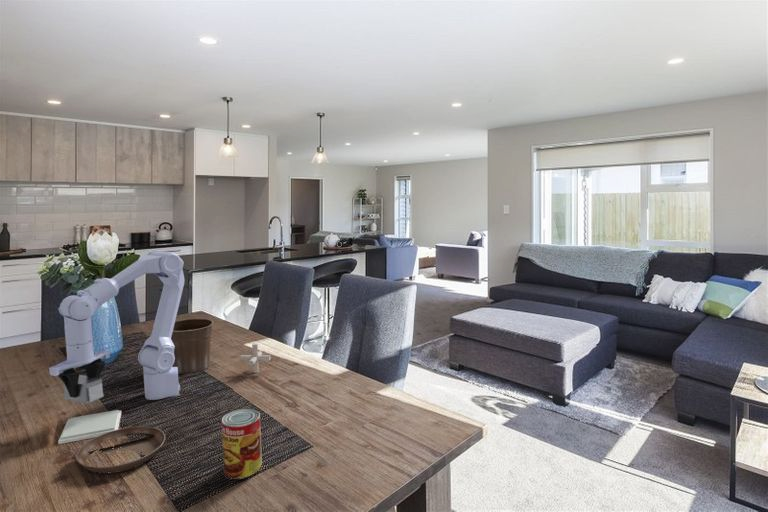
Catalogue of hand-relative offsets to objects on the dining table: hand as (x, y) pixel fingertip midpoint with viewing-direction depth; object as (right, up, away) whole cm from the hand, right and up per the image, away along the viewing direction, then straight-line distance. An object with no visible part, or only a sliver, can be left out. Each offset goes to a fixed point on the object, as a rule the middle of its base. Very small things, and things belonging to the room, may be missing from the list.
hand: (83, 392), depth 117 cm
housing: (0, -1, 0) cm, 1 cm away
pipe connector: (+34, -5, +38) cm, 52 cm away
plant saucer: (+18, -11, -13) cm, 25 cm away
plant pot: (+10, -5, +42) cm, 44 cm away
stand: (+4, -9, -3) cm, 10 cm away
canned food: (+48, -11, -19) cm, 52 cm away
